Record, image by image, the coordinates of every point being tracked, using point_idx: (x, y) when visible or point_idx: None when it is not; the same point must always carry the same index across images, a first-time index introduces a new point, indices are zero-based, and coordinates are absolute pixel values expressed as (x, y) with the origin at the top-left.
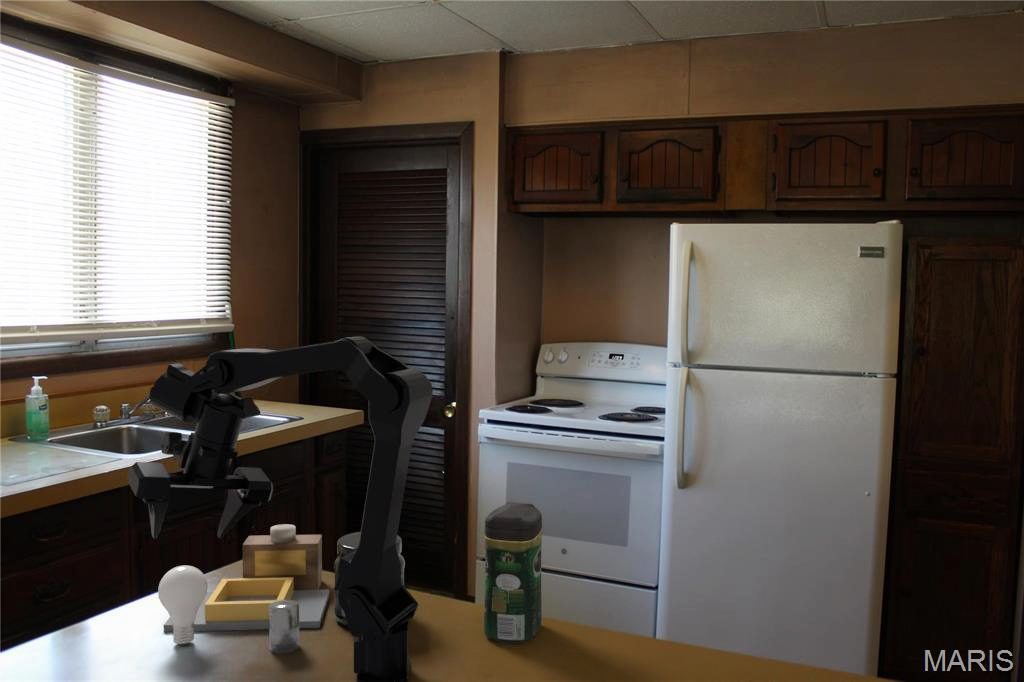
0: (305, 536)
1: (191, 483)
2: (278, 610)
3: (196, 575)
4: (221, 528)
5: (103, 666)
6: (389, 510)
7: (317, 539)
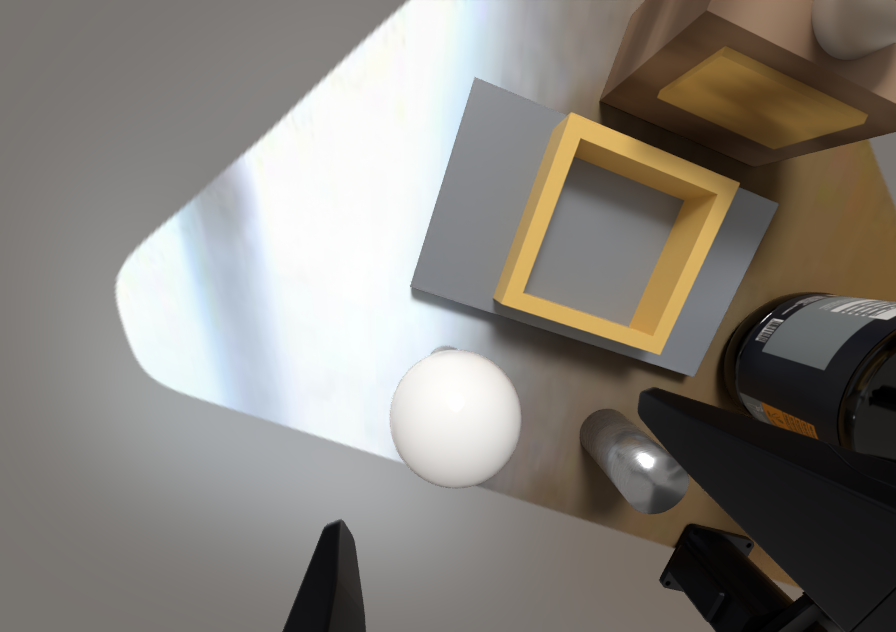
0: None
1: None
2: (638, 509)
3: (497, 470)
4: (682, 449)
5: (308, 406)
6: None
7: None
